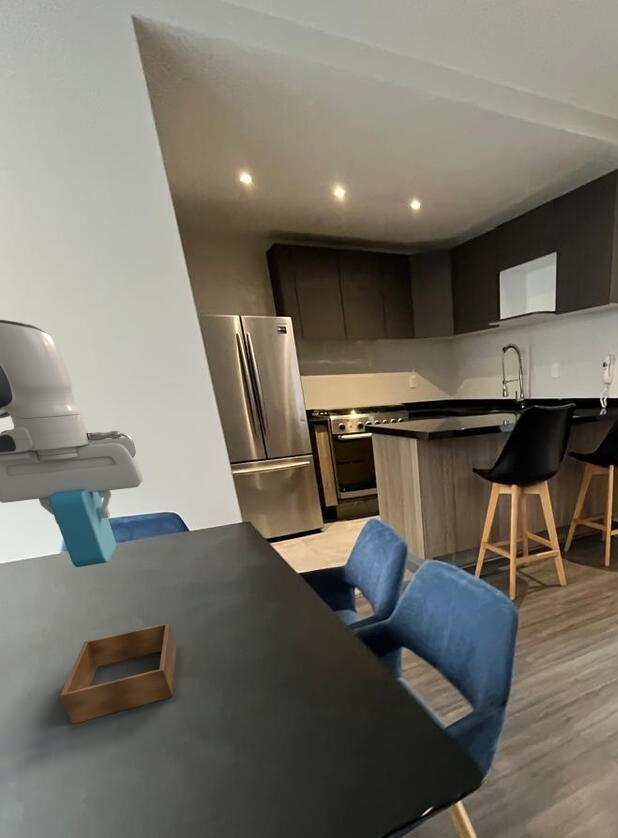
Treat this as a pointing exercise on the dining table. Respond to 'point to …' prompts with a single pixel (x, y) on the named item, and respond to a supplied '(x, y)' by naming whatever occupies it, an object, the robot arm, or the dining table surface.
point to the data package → (83, 527)
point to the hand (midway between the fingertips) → (84, 520)
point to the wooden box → (122, 692)
